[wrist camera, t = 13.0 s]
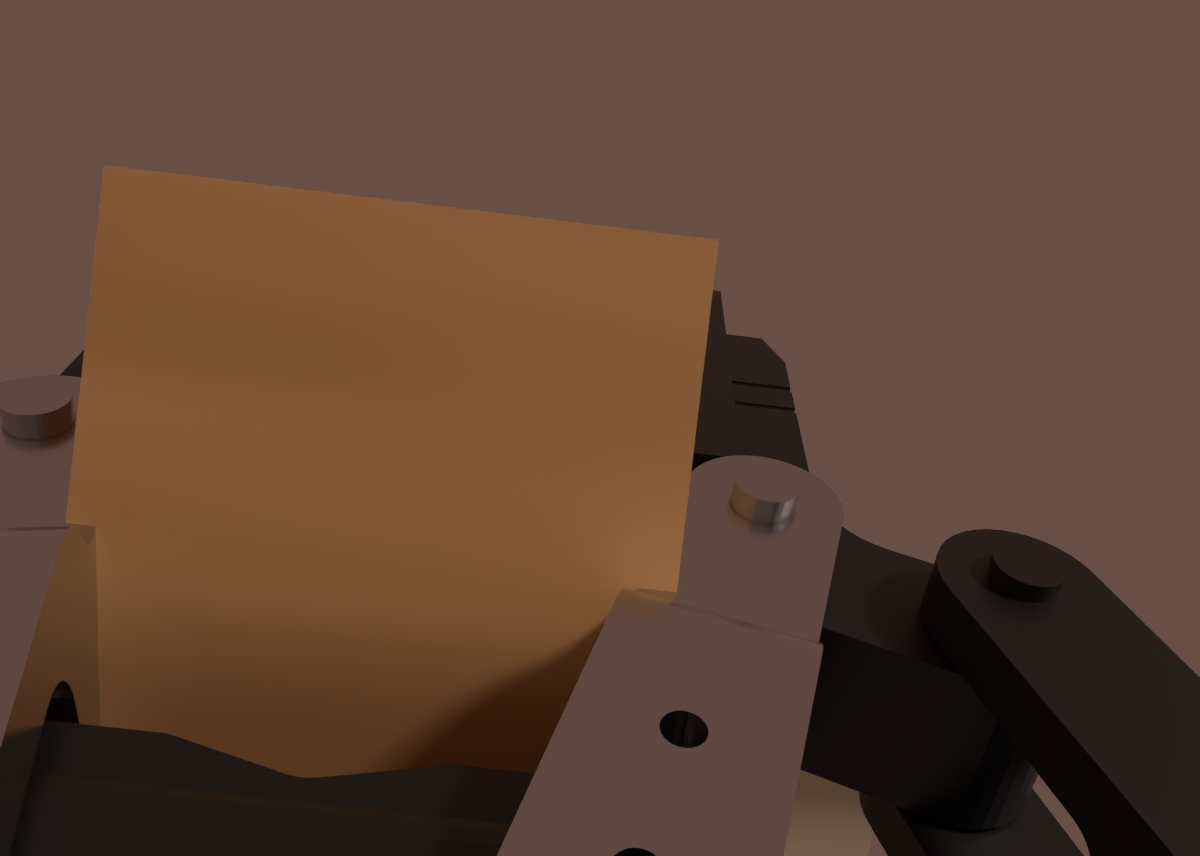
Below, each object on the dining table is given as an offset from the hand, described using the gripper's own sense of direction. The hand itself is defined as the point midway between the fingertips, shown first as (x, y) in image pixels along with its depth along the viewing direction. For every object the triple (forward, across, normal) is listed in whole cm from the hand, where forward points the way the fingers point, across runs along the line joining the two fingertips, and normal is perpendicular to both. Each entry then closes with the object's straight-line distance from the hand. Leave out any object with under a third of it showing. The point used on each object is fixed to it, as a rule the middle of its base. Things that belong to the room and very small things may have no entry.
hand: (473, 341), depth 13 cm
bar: (+2, 0, +5) cm, 6 cm away
